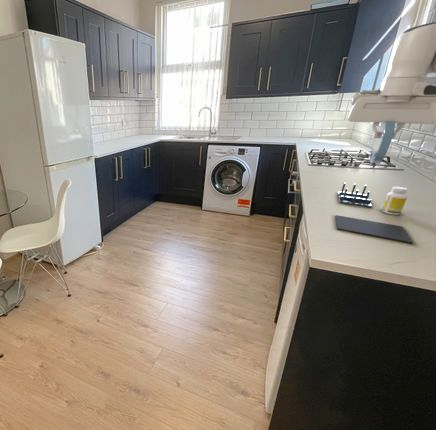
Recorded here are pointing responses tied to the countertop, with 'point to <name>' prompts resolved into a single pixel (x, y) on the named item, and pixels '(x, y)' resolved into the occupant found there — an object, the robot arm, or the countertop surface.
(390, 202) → the supplement bottle
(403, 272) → the countertop surface
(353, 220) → the mat
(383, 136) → the plate
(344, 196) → the dish rack
